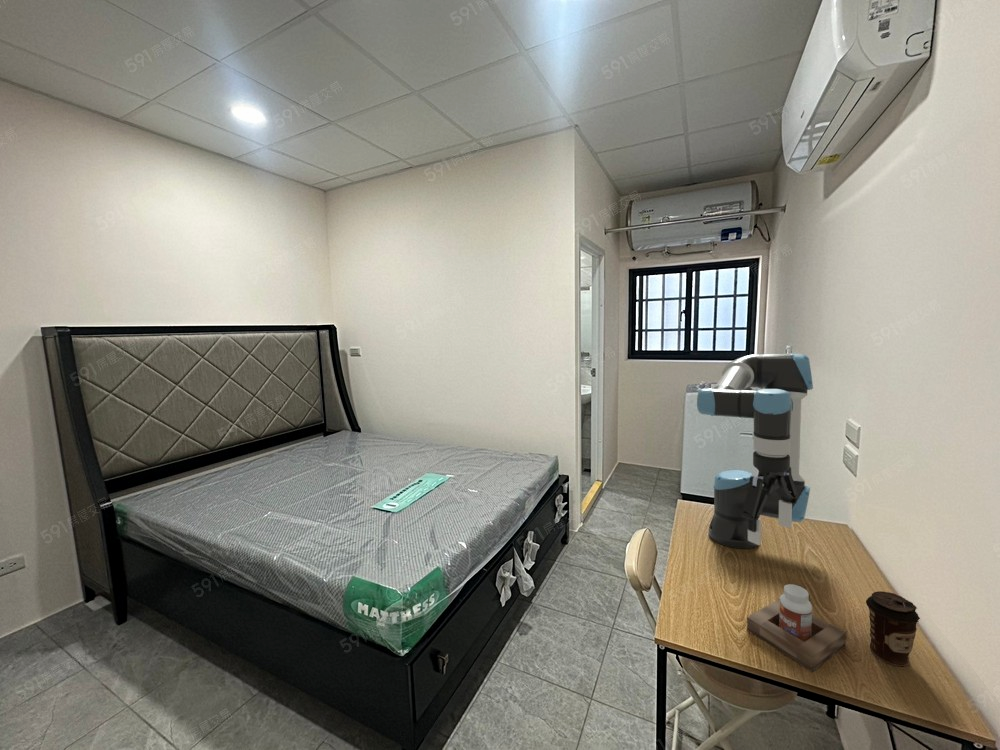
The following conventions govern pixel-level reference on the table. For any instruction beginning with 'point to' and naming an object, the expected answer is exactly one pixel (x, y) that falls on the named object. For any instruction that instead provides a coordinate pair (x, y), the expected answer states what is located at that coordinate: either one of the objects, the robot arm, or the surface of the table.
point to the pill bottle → (796, 612)
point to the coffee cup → (892, 627)
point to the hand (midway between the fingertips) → (770, 534)
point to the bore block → (808, 653)
